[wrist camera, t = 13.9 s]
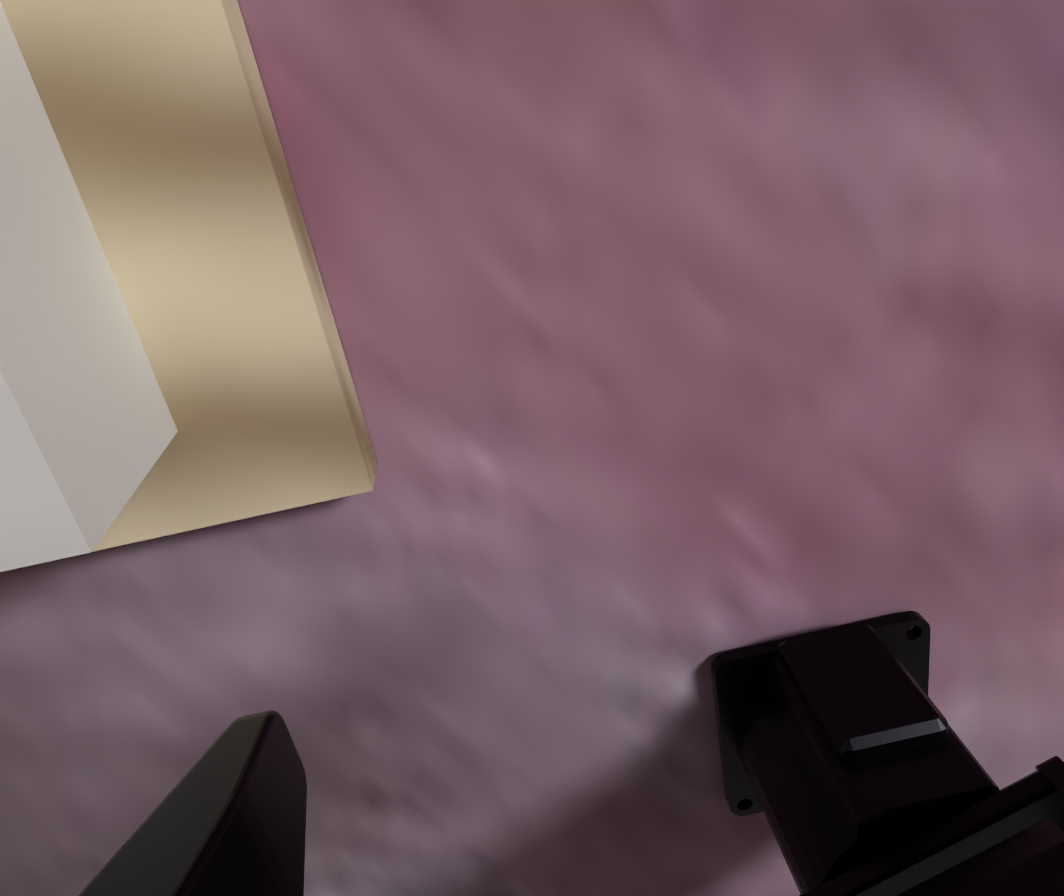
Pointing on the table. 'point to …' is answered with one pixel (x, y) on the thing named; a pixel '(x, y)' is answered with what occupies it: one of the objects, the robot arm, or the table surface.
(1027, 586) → the table surface
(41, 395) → the long grey plank
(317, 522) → the table surface
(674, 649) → the table surface
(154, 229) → the board
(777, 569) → the table surface
